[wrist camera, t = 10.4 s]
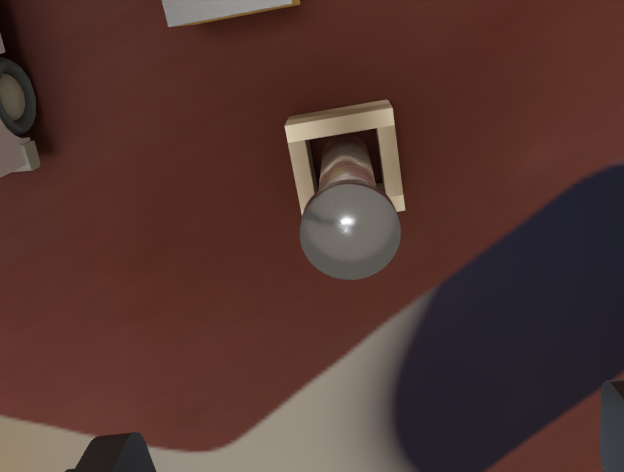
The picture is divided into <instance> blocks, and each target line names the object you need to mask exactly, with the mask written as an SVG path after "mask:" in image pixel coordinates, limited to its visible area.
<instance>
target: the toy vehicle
mask: <svg viewBox="0 0 624 472" xmlns="http://www.w3.org/2000/svg"><path fill="white" fill-rule="evenodd" d="M4 52H5V48H4V45H3V41H2V38H1V34H0V54H2V53H4ZM35 116H36V98H35V94H34V90H33V88H32V85H31V82H30V80H29V77H28V76H27V75H26V73H25V72H24V71H23V69H22V68H21V67H20V66H19V65H18V64H16V63H15V62H13V61H11V60H9V59H6V58H3V57H0V178H1V177H3V176H5V175H7V174H9V173H11V172H19V171H32V170H35V169H36V168H38V167H40V159H39V156H38V152H37V148H36V145H35V141H30V137H24V138H20V137H17V135H22V134H23V133H25V132H26V131H28V130H29V129H30V128H31V126H32V125H33V123H34V120H35Z"/></svg>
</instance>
